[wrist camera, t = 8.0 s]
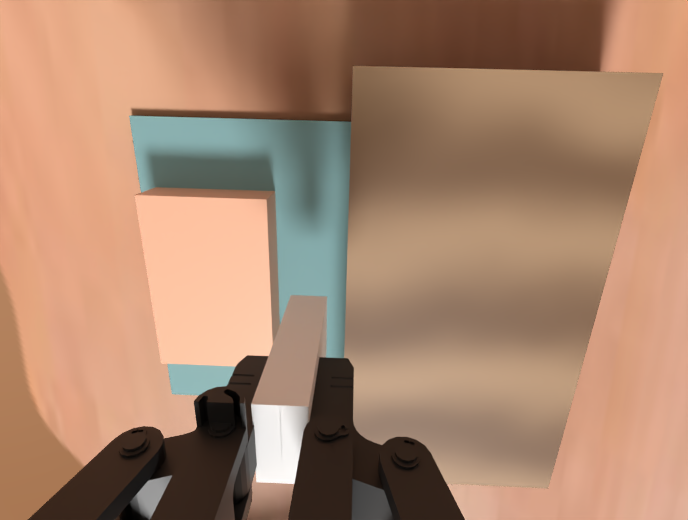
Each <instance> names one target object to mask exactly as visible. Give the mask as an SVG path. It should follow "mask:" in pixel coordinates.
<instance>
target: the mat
mask: <svg viewBox="0 0 688 520" xmlns="http://www.w3.org/2000/svg"><path fill="white" fill-rule="evenodd" d="M129 117H130V124H131V130H132V137H133V143H134V150H135V156H136V163H137V169H138V176H139V182H140V189H141V193H142V192H144V191H147V190H150V189H152V188H155V187H163V188H194V189H225V190H255V191H275V199H276V228H277V257H278V287H279V316H280V324H281V321H282V318H283V315H284V313H285V310H286V307H287V304H288V302H289V299H290V296H291V295H303V296H327V343H326V357H328V358H344V348H345V314H346V280H347V247H348V213H349V179H350V145H351V122H346V121H309V120H272V119H236V118H199V117H163V116H129ZM235 367H236V366H212V365H188V364H168V371H169V377H170V384H171V390H172V394H180V395H200V394H202V393H203V392H205V391H207V390H209V389H212V388H215V387H222V386H227V384H228V382H229V380H230V378H231V376H232V374H233V371H234V369H235Z"/></svg>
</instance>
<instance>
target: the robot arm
mask: <svg viewBox="0 0 688 520" xmlns="http://www.w3.org/2000/svg"><path fill="white" fill-rule="evenodd" d="M326 343H327V296H303V295H291V296H290V299H289V302H288V304H287V307H286V310H285V313H284V315H283V318H282V321H281V324H280V326H279V329H278V332H277V335H276V337H275V340H274V343H273V345H272V348H271V351H270V354H269V356H253V355H247V356H246V357H245V358H243V359H242V360H241V361H240V362H239V363H238V364H237V365H236V367H235V369H234V371H233V374H232V376H231V378H230V380H229V382H228V384H227V386H222V387H215V388H212V389H209V390H207V391H205V392H203V393H202V394H200V395H199V396H198V397H197V398H196V400H195V401H194V406H195V414H196V421H197V428H196V430H195V431H193V432H190V433H187V434H184V435H179V436H174V437H169V438H164V437H163V435H162V433H161V431H160V430H158V429H156V428H154V427H145V426H143V427H138V428H133V429H131V430H129V431H126V432H124V433H122V434H121V435H119V436H118V437H117V438H115V439H114V440H113V441H112V442H110V443H109V444H108V445H107V446H106V447H105V448H104V449H103V450H102V451H101V452H100V453H99V454H98V455H97V456H96V457H94V458H93V459H92V460H91V461H90V462H89V463H88V464H87V465H86V466H85V467H84V468H83V469H82V470H81V471H79V472H78V473H77V474H76V475H75V477H73V478H72V479H71V480H70V481H69V482H68V483H67V484H66V485H65V486H64V487H62V488H61V489H60V490H59V491H58V492H57V493H56V494H55V495H54V496H53V497H52V498H51V499H50V500H49V501H47V502H46V503H45V504H44V505H43V506H42V507H41V508H40V509H39V510H38V511H37V512H36V513H35V514H34V515H32V517H30V518H29V519H28V520H247V516H248V513H249V509H250V505H251V501H252V481H253V477H254V474H255V470H256V482H264V483H286V484H294V489H293V495H292V501H291V506H290V512H289V518H288V520H465V519H464V517H463V515H462V513H461V511H460V509H459V507H458V505H457V503H456V501H455V499H454V497H453V495H452V494H451V492H450V490H449V488H448V486H447V484H446V482H445V480H444V478H443V476H442V474H441V472H440V470H439V468H438V466H437V464H436V462H435V460H434V458H433V456H432V454H431V452H430V451H429V450H428V449H427V447H426V446H425V445H424V444H422V443H421V442H419V441H418V440H416V439H412V438H409V437H395V438H391V439H389V440H387V441H386V442H385V443H384V444H383V445H381V444H378V443H374V442H372V441H370V440H367V439H366V438H364V437H363V436H361V435H360V434H359V432H358V431H357V430H356V428H355V426H354V422H353V393H354V367H353V365H352V364H351V362H350V361H349V359H348V358H328V357H326Z"/></svg>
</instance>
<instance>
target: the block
mask: <svg viewBox="0 0 688 520" xmlns="http://www.w3.org/2000/svg"><path fill="white" fill-rule="evenodd" d="M135 201H136V207H137V213H138V220H139V226H140V232H141V238H142V245H143V251H144V257H145V264H146V270H147V276H148V283H149V289H150V295H151V302H152V308H153V314H154V320H155V327H156V333H157V339H158V346H159V352H160V358H161V363H164V364H188V365H212V366H236V365H237V364H238V363H239V362H240V361H241V360H242V359H243V358H245V357H246V356H247V355H253V356H269V354H270V351H271V348H272V345H273V343H274V340H275V337H276V335H277V332H278V329H279V326H280V316H279V287H278V257H277V228H276V199H275V191H255V190H225V189H194V188H163V187H155V188H152V189H150V190H147V191H144V192H142V193H139V194H136V195H135Z"/></svg>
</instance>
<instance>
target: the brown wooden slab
mask: <svg viewBox="0 0 688 520" xmlns="http://www.w3.org/2000/svg"><path fill="white" fill-rule="evenodd" d="M662 76H663V73H634V72H593V71H551V70H510V69H469V68H428V67H386V66H353V78H352V112H351V145H350V179H349V213H348V247H347V280H346V314H345V348H344V358H348V359H349V361H350V362H351V364H352V365H353V367H354V393H353V422H354V426H355V428H356V430H357V431H358V432H359V434H360V435H361V436H363V437H364V438H366V439H367V440H370V441H372V442H374V443H378V444H381V445H383V444H384V443H385V442H386V441H387V440H389V439H391V438H395V437H409V438H412V439H416V440H418V441H419V442H421V443H422V444H424V445H425V446H426V447H427V449H428V450H429V451H430V452H431V454H432V456H433V458H434V460H435V462H436V464H437V466H438V468H439V470H440V472H441V474H442V476H443V478H444V480H445V482H446V484H460V485H482V486H503V487H524V488H546V489H548V487H549V483H550V480H551V476H552V473H553V469H554V465H555V462H556V458H557V455H558V451H559V447H560V444H561V440H562V437H563V433H564V429H565V426H566V422H567V419H568V415H569V411H570V408H571V404H572V400H573V397H574V393H575V390H576V386H577V382H578V379H579V375H580V372H581V368H582V364H583V361H584V357H585V354H586V350H587V346H588V343H589V339H590V336H591V332H592V328H593V325H594V321H595V318H596V314H597V310H598V307H599V303H600V300H601V296H602V292H603V289H604V285H605V282H606V278H607V274H608V271H609V267H610V264H611V260H612V256H613V253H614V249H615V246H616V242H617V238H618V235H619V231H620V228H621V224H622V220H623V217H624V213H625V210H626V206H627V202H628V199H629V195H630V191H631V188H632V184H633V181H634V177H635V173H636V170H637V166H638V163H639V159H640V155H641V152H642V148H643V145H644V141H645V137H646V134H647V130H648V127H649V123H650V119H651V116H652V112H653V109H654V105H655V101H656V98H657V94H658V91H659V87H660V83H661V80H662Z"/></svg>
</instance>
